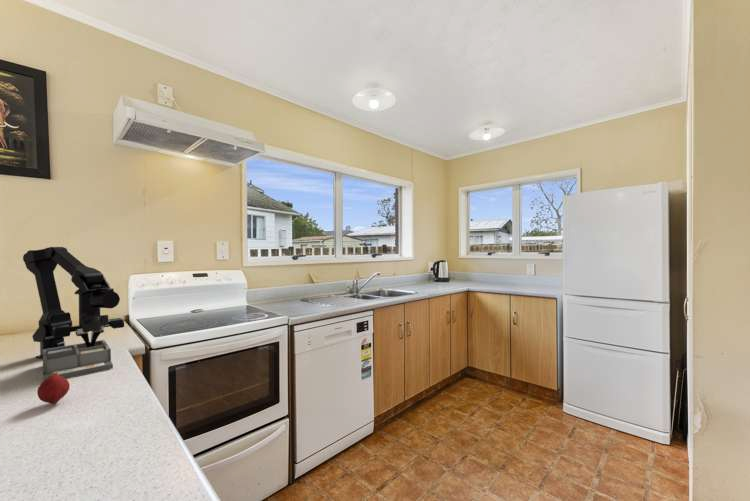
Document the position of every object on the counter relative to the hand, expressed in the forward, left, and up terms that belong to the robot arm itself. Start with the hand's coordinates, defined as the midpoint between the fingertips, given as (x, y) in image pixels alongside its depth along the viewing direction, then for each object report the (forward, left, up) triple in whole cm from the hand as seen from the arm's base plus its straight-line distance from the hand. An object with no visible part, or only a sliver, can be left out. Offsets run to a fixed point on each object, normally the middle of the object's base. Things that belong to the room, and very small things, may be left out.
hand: (90, 351), depth 116 cm
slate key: (-4, -6, 0) cm, 8 cm away
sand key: (+6, -5, 0) cm, 8 cm away
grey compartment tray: (+2, -7, -3) cm, 8 cm away
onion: (+22, -30, -3) cm, 37 cm away
